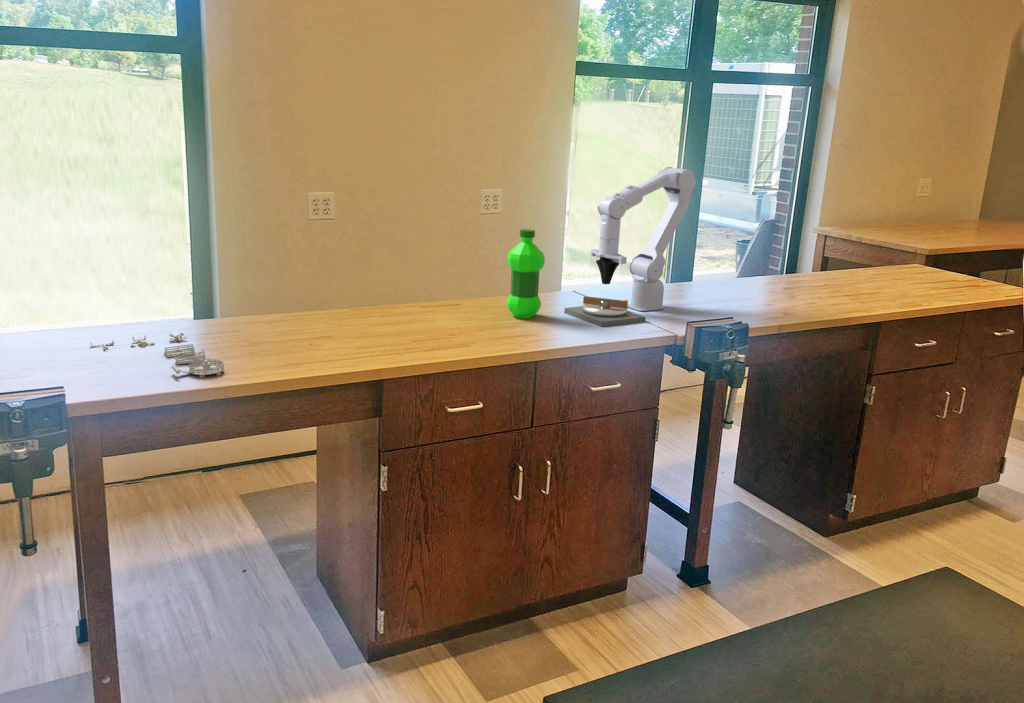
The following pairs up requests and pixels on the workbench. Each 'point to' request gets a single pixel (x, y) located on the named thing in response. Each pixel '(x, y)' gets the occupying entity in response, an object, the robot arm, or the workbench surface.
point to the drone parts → (201, 370)
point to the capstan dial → (604, 306)
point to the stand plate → (604, 317)
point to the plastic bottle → (525, 276)
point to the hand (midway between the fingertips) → (606, 283)
